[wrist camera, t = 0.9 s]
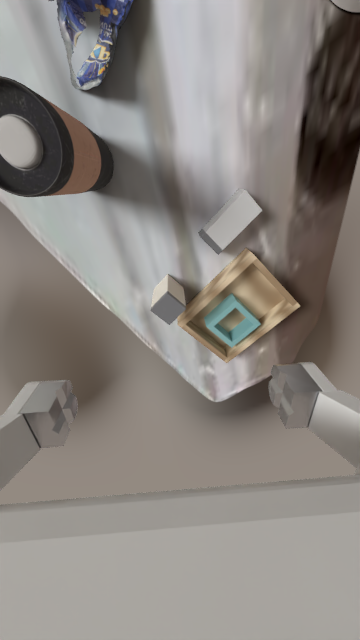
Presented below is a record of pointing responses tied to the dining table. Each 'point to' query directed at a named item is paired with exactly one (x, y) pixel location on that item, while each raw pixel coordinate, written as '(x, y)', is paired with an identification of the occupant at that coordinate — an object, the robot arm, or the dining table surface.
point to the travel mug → (47, 147)
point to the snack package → (113, 13)
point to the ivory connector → (168, 300)
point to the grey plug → (230, 220)
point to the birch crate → (252, 290)
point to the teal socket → (238, 331)
